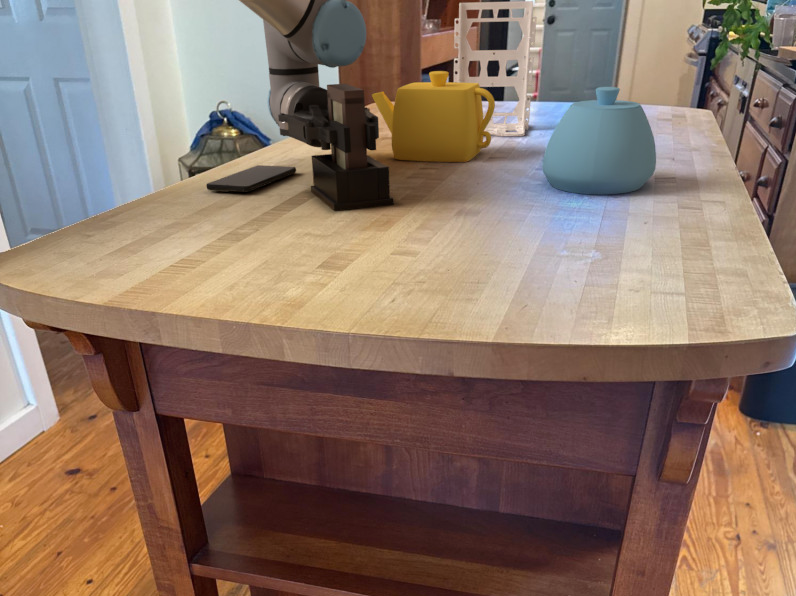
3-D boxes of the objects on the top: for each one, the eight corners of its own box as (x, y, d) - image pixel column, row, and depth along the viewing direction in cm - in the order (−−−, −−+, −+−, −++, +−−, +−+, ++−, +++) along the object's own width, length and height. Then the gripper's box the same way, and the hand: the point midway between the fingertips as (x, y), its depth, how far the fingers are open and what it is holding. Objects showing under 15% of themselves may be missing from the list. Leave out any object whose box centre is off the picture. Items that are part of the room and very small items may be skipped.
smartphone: (297, 166, 113) (247, 186, 101) (297, 173, 113) (248, 193, 102) (257, 164, 115) (204, 183, 103) (257, 171, 115) (205, 190, 104)
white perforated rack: (449, 136, 137) (451, 3, 125) (454, 125, 148) (457, 2, 136) (528, 136, 136) (538, 1, 124) (528, 125, 147) (536, 0, 135)
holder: (310, 191, 103) (307, 156, 100) (365, 186, 105) (364, 151, 102) (334, 211, 94) (331, 172, 91) (393, 204, 96) (392, 166, 93)
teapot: (363, 159, 121) (359, 75, 114) (387, 146, 130) (384, 67, 123) (484, 164, 116) (487, 75, 109) (499, 150, 125) (503, 67, 118)
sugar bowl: (566, 169, 111) (576, 79, 104) (666, 179, 104) (683, 83, 98) (522, 189, 101) (529, 91, 94) (630, 201, 94) (646, 96, 88)
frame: (333, 186, 102) (326, 84, 95) (351, 184, 102) (345, 83, 95) (350, 198, 96) (344, 90, 89) (368, 196, 96) (364, 89, 89)
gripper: (364, 139, 113) (420, 167, 95) (263, 148, 109) (301, 178, 91) (361, 81, 108) (419, 99, 90) (255, 88, 104) (294, 108, 86)
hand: (360, 139), depth 91 cm, fingers closed on frame, 2 cm apart
